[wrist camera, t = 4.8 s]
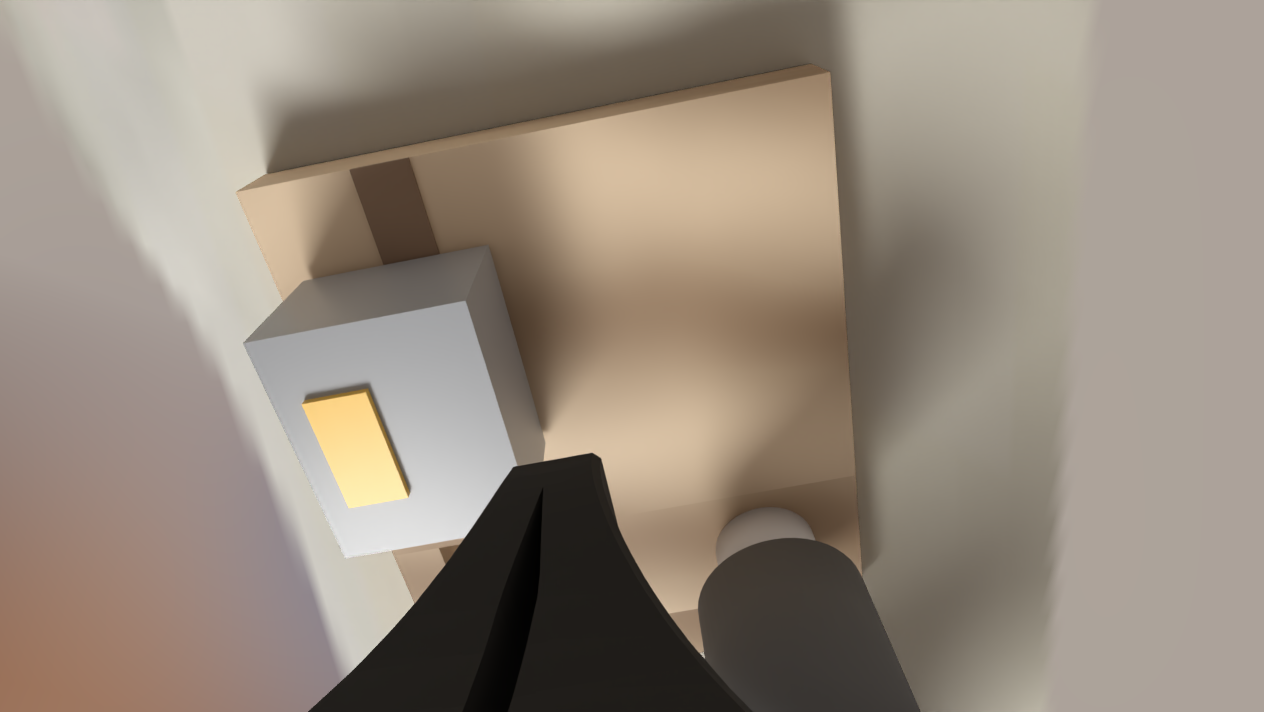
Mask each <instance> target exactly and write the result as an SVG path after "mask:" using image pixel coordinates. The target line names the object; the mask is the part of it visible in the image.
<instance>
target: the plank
mask: <svg viewBox="0 0 1264 712" xmlns="http://www.w3.org/2000/svg"><path fill="white" fill-rule="evenodd" d="M236 194H237V197H238V199H239V201H240V203H241V206H242V208H243V210H244V213H245V215H246V217H247V220H248V222H249V224H250V226H251V229H252V231H253V233H254V236H255V238H256V240H257V243H258V245H259V247H260V249H261V252H262V254H263V256H264V259H265V261H266V263H267V265H268V268H269V270H270V272H271V275H272V277H273V279H274V282H275V284H276V286H277V288H278V291H279V293H280V295H281V298H282V300H283V301H284V300H285V299H286V298H287V297H288V296H289V295H290V294H291V293H292V292H293V291H294V290H295V289H296V288H297V287H298V286H299V285H300V284H301V283H302V282H303V281H305V280H310V279H315V278H320V277H325V276H330V275H335V274H341V273H346V272H351V271H356V270H361V269H366V268H371V267H376V266H382V265H387V264H392V263H397V262H402V261H407V260H412V259H418V258H423V257H428V256H433V255H438V254H443V253H448V252H453V251H459V250H464V249H469V248H474V247H479V246H484V245H489V248H490V252H491V255H492V258H493V262H494V265H495V269H496V272H497V276H498V279H499V283H500V286H501V290H502V293H503V297H504V300H505V304H506V307H507V311H508V314H509V317H510V321H511V324H512V328H513V331H514V335H515V338H516V342H517V345H518V349H519V352H520V356H521V359H522V363H523V366H524V369H525V373H526V376H527V380H528V383H529V387H530V390H531V394H532V397H533V401H534V404H535V408H536V411H537V415H538V418H539V421H540V425H541V428H542V432H543V435H544V439H545V442H546V444H545V452H544V461H548V460H554V459H560V458H565V457H571V456H576V455H582V454H588V453H594V454H595V455H597V456H599V457H600V458H601V459H602V463H603V467H604V471H605V475H606V479H607V483H608V487H609V491H610V495H611V499H612V503H613V507H614V511H615V515H616V519H617V523H618V527H619V529H620V532H621V534H622V536H623V538H624V540H625V542H626V544H627V546H628V548H629V550H630V552H631V554H632V556H633V558H634V559H635V561H636V563H637V565H638V566H639V568H640V570H641V572H642V573H643V575H644V577H645V578H646V580H647V582H648V583H649V585H650V587H651V588H652V590H653V591H654V593H655V594H656V596H657V597H658V599H659V600H660V602H661V603H662V605H663V606H664V607H665V609H666V610H667V612H668V613H669V615H670V616H671V618H672V619H673V620H674V622H675V623H676V624H677V626H678V627H679V628H680V629H681V631H682V632H683V633H684V635H685V636H686V637H687V639H688V640H689V641H690V643H691V644H692V645H693V646H694V647H695V649H696V650H697V651H698V652H699V653H701V652H704V648H703V641H702V635H701V628H700V622H699V615H698V600H699V596H700V592H701V590H702V587H703V585H704V583H705V582H706V580H707V578H708V577H709V575H710V574H711V573H712V572H713V571H714V569H715V568H716V567H717V566H718V563H717V558H716V543H717V539H718V537H719V534H720V533H721V531H722V530H723V528H724V527H725V526H726V525H727V524H728V523H729V522H730V521H731V520H733V519H734V518H735V517H737V516H739V515H740V514H742V513H745V512H747V511H750V510H753V509H757V508H763V507H777V508H783V509H787V510H790V511H792V512H794V513H796V514H798V515H800V516H801V517H802V518H803V519H804V520H805V521H806V522H807V523H808V524H809V526H810V528H811V530H812V532H813V535H814V538H815V540H816V541H819V542H822V543H825V544H828V545H830V546H832V547H834V548H836V549H838V550H839V551H841V552H842V553H844V554H845V555H846V556H847V557H848V558H850V559H851V560H852V562H853V563H854V564H855V565H856V567H857V569H858V570H859V572H860V574H861V576H862V564H861V548H860V532H859V517H858V501H857V485H856V469H855V454H854V438H853V422H852V406H851V390H850V375H849V359H848V343H847V327H846V312H845V296H844V280H843V264H842V248H841V233H840V217H839V201H838V185H837V170H836V154H835V138H834V122H833V106H832V91H831V75H830V72H829V71H827V70H824V69H822V68H820V67H817V66H815V65H813V64H807V65H802V66H797V67H792V68H787V69H782V70H778V71H773V72H768V73H763V74H758V75H753V76H748V77H743V78H738V79H733V80H728V81H723V82H718V83H713V84H708V85H704V86H699V87H694V88H689V89H684V90H679V91H674V92H669V93H664V94H659V95H654V96H649V97H644V98H639V99H635V100H630V101H625V102H620V103H615V104H610V105H605V106H600V107H595V108H590V109H585V110H580V111H575V112H570V113H565V114H561V115H556V116H551V117H546V118H541V119H536V120H531V121H526V122H521V123H516V124H511V125H506V126H501V127H496V128H492V129H487V130H482V131H477V132H472V133H467V134H462V135H457V136H452V137H447V138H442V139H437V140H432V141H427V142H423V143H418V144H413V145H408V146H403V147H398V148H393V149H388V150H383V151H378V152H373V153H368V154H363V155H358V156H353V157H349V158H344V159H339V160H334V161H329V162H324V163H319V164H314V165H309V166H304V167H299V168H294V169H289V170H284V171H280V172H275V173H270V174H265V175H263V176H262V177H260V178H258V179H257V180H255V181H253V182H252V183H250V184H248V185H247V186H245V187H243V188H242V189H240V190H238V191H237V192H236ZM463 539H464V538H460V539H454V540H449V541H443V542H437V543H432V544H426V545H420V546H414V547H409V548H403V549H397V550H392V553H393V555H394V557H395V560H396V562H397V564H398V567H399V569H400V571H401V573H402V576H403V578H404V580H405V583H406V585H407V587H408V589H409V592H410V594H411V596H412V599H413V601H414V603H416V601H417V600H418V599H419V597H420V596H421V595H422V594H423V592H424V591H425V590H426V589H427V587H428V586H429V585H430V584H431V582H432V581H433V580H434V578H435V577H436V576H437V575H438V573H439V572H440V571H441V570H442V568H443V567H444V566H445V564H446V563H447V562H448V560H449V559H450V558H451V556H452V555H453V553H454V552H455V551H456V549H457V548H458V546H459V545H460V544H461V542H462V541H463Z"/></svg>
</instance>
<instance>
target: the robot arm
mask: <svg viewBox="0 0 1264 712" xmlns="http://www.w3.org/2000/svg"><path fill="white" fill-rule="evenodd" d="M308 712H753V711H752V710H751V709H750V708H749V707H748V706H747V705H746V704H745V703H744V702H743V701H742V700H741V699H740V698H739V697H738V696H737V695H736V694H735V693H734V692H733V691H732V690H731V689H730V688H729V687H728V685H727V684H726V683H725V682H724V681H723V680H722V679H721V677H720V676H719V675H718V674H717V673H716V672H715V670H714V669H713V668H712V667H711V666H710V665H709V664H708V662H707V661H706V660H705V659H704V658H703V657H702V655H701V654H700V653H699V652H698V651H697V650H696V649H695V647H694V646H693V645H692V644H691V643H690V641H689V640H688V639H687V637H686V636H685V635H684V633H683V632H682V631H681V629H680V628H679V627H678V626H677V624H676V623H675V622H674V620H673V619H672V618H671V616H670V615H669V613H668V612H667V610H666V609H665V607H664V606H663V605H662V603H661V602H660V600H659V599H658V597H657V596H656V594H655V593H654V591H653V590H652V588H651V587H650V585H649V583H648V582H647V580H646V578H645V577H644V575H643V573H642V572H641V570H640V568H639V566H638V565H637V563H636V561H635V559H634V558H633V556H632V554H631V552H630V550H629V548H628V546H627V544H626V542H625V540H624V538H623V536H622V534H621V532H620V529H619V527H618V523H617V519H616V515H615V511H614V507H613V503H612V499H611V495H610V491H609V487H608V483H607V479H606V475H605V471H604V467H603V463H602V459H601V458H600V457H599V456H597V455H595V454H594V453H588V454H582V455H576V456H571V457H565V458H560V459H554V460H548V461H543V462H537V463H532V464H526V465H520V466H515V467H513V468H512V469H511V471H510V472H509V474H508V475H507V476H506V478H505V479H504V481H503V482H502V483H501V485H500V486H499V488H498V489H497V491H496V492H495V494H494V495H493V497H492V498H491V500H490V501H489V503H488V504H487V506H486V507H485V509H484V510H483V512H482V513H481V515H480V516H479V518H478V519H477V521H476V522H475V524H474V525H473V527H472V528H471V529H470V531H469V532H468V534H467V535H466V536H465V538H464V539H463V541H462V542H461V544H460V545H459V546H458V548H457V549H456V551H455V552H454V553H453V555H452V556H451V558H450V559H449V560H448V562H447V563H446V564H445V566H444V567H443V568H442V570H441V571H440V572H439V573H438V575H437V576H436V577H435V578H434V580H433V581H432V582H431V584H430V585H429V586H428V587H427V589H426V590H425V591H424V592H423V594H422V595H421V596H420V597H419V599H418V600H417V601H416V603H415V604H414V605H413V606H412V607H411V609H410V610H409V611H408V612H407V613H406V614H405V616H404V617H403V618H402V619H401V620H400V621H399V622H398V623H397V625H396V626H395V627H394V628H393V629H392V630H391V631H390V632H389V633H388V635H387V636H386V637H385V638H384V639H383V640H382V641H381V642H380V643H379V644H378V645H377V646H376V647H375V648H374V649H373V650H372V651H371V652H370V653H369V654H368V656H367V657H366V658H365V659H364V660H363V661H362V662H361V663H360V664H359V665H358V666H357V667H356V668H355V669H354V670H353V671H352V672H351V673H350V674H349V675H347V676H346V677H345V678H344V679H343V680H342V681H341V682H340V683H339V684H338V685H337V686H336V687H335V688H333V689H332V690H331V691H330V692H329V693H328V694H327V695H326V696H325V697H324V698H323V699H321V700H320V701H319V702H318V703H317V704H316V705H315V706H314V707H313V708H312V709H311V710H309V711H308Z"/></svg>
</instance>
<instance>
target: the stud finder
mask: <svg viewBox="0 0 1264 712" xmlns="http://www.w3.org/2000/svg"><path fill="white" fill-rule="evenodd" d="M243 344H244V347H245V349H246V351H247V353H248V355H249V357H250V359H251V361H252V363H253V365H254V368H255V370H256V372H257V374H258V376H259V378H260V380H261V382H262V384H263V387H264V389H265V391H266V393H267V395H268V397H269V399H270V401H271V403H272V405H273V408H274V410H275V412H276V414H277V416H278V418H279V420H280V422H281V424H282V427H283V429H284V431H285V433H286V435H287V437H288V439H289V441H290V443H291V445H292V448H293V450H294V452H295V454H296V456H297V458H298V460H299V462H300V464H301V467H302V469H303V471H304V473H305V475H306V477H307V479H308V481H309V483H310V485H311V488H312V490H313V492H314V494H315V496H316V498H317V500H318V502H319V504H320V507H321V509H322V511H323V513H324V515H325V517H326V519H327V521H328V523H329V525H330V528H331V530H332V532H333V534H334V536H335V538H336V540H337V542H338V544H339V547H340V549H341V551H342V553H343V555H344V557H345V559H346V558H352V557H357V556H363V555H369V554H374V553H380V552H386V551H392V550H397V549H403V548H409V547H414V546H420V545H426V544H432V543H437V542H443V541H449V540H454V539H460V538H465V536H466V535H467V534H468V532H469V531H470V529H471V528H472V527H473V525H474V524H475V522H476V521H477V519H478V518H479V516H480V515H481V513H482V512H483V510H484V509H485V507H486V506H487V504H488V503H489V501H490V500H491V498H492V497H493V495H494V494H495V492H496V491H497V489H498V488H499V486H500V485H501V483H502V482H503V481H504V479H505V478H506V476H507V475H508V474H509V472H510V471H511V469H512V468H513V467H515V466H520V465H526V464H532V463H537V462H543V461H544V452H545V444H546V442H545V439H544V435H543V432H542V428H541V425H540V421H539V418H538V415H537V411H536V408H535V404H534V401H533V397H532V394H531V390H530V387H529V383H528V380H527V376H526V373H525V369H524V366H523V363H522V359H521V356H520V352H519V349H518V345H517V342H516V338H515V335H514V331H513V328H512V324H511V321H510V317H509V314H508V311H507V307H506V304H505V300H504V297H503V293H502V290H501V286H500V283H499V279H498V276H497V272H496V269H495V265H494V262H493V258H492V255H491V252H490V248H489V245H484V246H479V247H474V248H469V249H464V250H459V251H453V252H448V253H443V254H438V255H433V256H428V257H423V258H418V259H412V260H407V261H402V262H397V263H392V264H387V265H382V266H376V267H371V268H366V269H361V270H356V271H351V272H346V273H341V274H335V275H330V276H325V277H320V278H315V279H310V280H305V281H303V282H302V283H301V284H300V285H299V286H298V287H297V288H296V289H295V290H294V291H293V292H292V293H291V294H290V295H289V296H288V297H287V298H286V299H285V300H284V301H283V302H282V303H281V304H280V305H279V306H278V307H277V309H276V310H275V311H274V312H273V313H272V314H271V315H270V316H269V317H268V318H267V319H266V320H265V321H264V322H263V323H262V324H261V325H260V326H259V327H258V328H257V329H256V330H255V331H254V332H253V333H252V334H251V335H250V337H249V338H248V339H247V340H246V341H245V342H244V343H243Z"/></svg>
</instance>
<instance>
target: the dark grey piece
mask: <svg viewBox="0 0 1264 712" xmlns="http://www.w3.org/2000/svg"><path fill="white" fill-rule="evenodd" d="M716 558H717V563H718V566H717V567H716V568H715V569H714V571H713V572H712V573H711V574H710V575H709V577H708V578H707V580H706V582H705V583H704V585H703V587H702V590H701V592H700V596H699V600H698V615H699V622H700V628H701V635H702V641H703V648H704V654H705V660H706V661H707V662H708V664H709V665H710V666H711V667H712V668H713V669H714V670H715V672H716V673H717V674H718V675H719V676H720V677H721V679H722V680H723V681H724V682H725V683H726V684H727V685H728V687H729V688H730V689H731V690H732V691H733V692H734V693H735V694H736V695H737V696H738V697H739V698H740V699H741V700H742V701H743V702H744V703H745V704H746V705H747V706H748V707H749V708H750V709H751V710H752V711H753V712H920V710H919V707H918V705H917V703H916V700H915V698H914V696H913V693H912V691H911V689H910V687H909V684H908V682H907V680H906V677H905V675H904V673H903V671H902V668H901V666H900V664H899V661H898V659H897V657H896V654H895V652H894V650H893V648H892V645H891V643H890V641H889V638H888V636H887V634H886V631H885V629H884V627H883V625H882V622H881V620H880V618H879V615H878V613H877V611H876V608H875V606H874V604H873V602H872V599H871V597H870V595H869V592H868V590H867V588H866V585H865V583H864V581H863V579H862V576H861V574H860V572H859V570H858V569H857V567H856V565H855V564H854V563H853V562H852V560H851V559H850V558H848V557H847V556H846V555H845V554H844V553H842V552H841V551H839V550H838V549H836V548H834V547H832V546H830V545H828V544H825V543H822V542H819V541H816V540H815V538H814V535H813V532H812V530H811V528H810V526H809V524H808V523H807V522H806V521H805V520H804V519H803V518H802V517H801V516H800V515H798V514H796V513H794V512H792V511H790V510H787V509H783V508H777V507H763V508H757V509H753V510H750V511H747V512H745V513H742V514H740V515H739V516H737V517H735V518H734V519H733V520H731V521H730V522H729V523H728V524H727V525H726V526H725V527H724V528H723V530H722V531H721V533H720V534H719V537H718V539H717V543H716Z"/></svg>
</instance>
